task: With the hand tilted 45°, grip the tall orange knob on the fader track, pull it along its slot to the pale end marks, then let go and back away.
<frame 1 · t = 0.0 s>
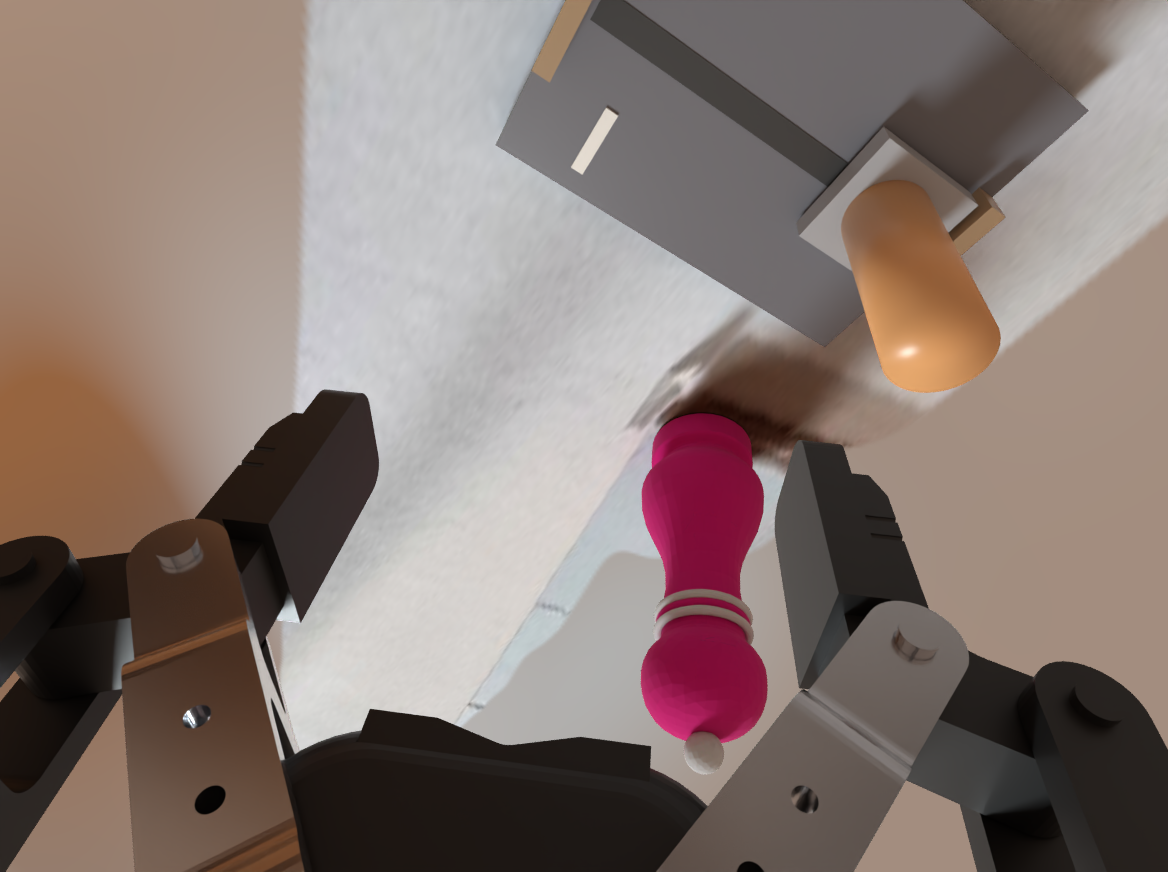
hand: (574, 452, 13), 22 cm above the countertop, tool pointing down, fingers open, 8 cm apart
pepper mill: (701, 445, 44), on the countertop
fader track: (770, 115, 29), on the countertop
fader: (905, 269, 26), point 7 cm above the countertop, slide at 0.0 cm
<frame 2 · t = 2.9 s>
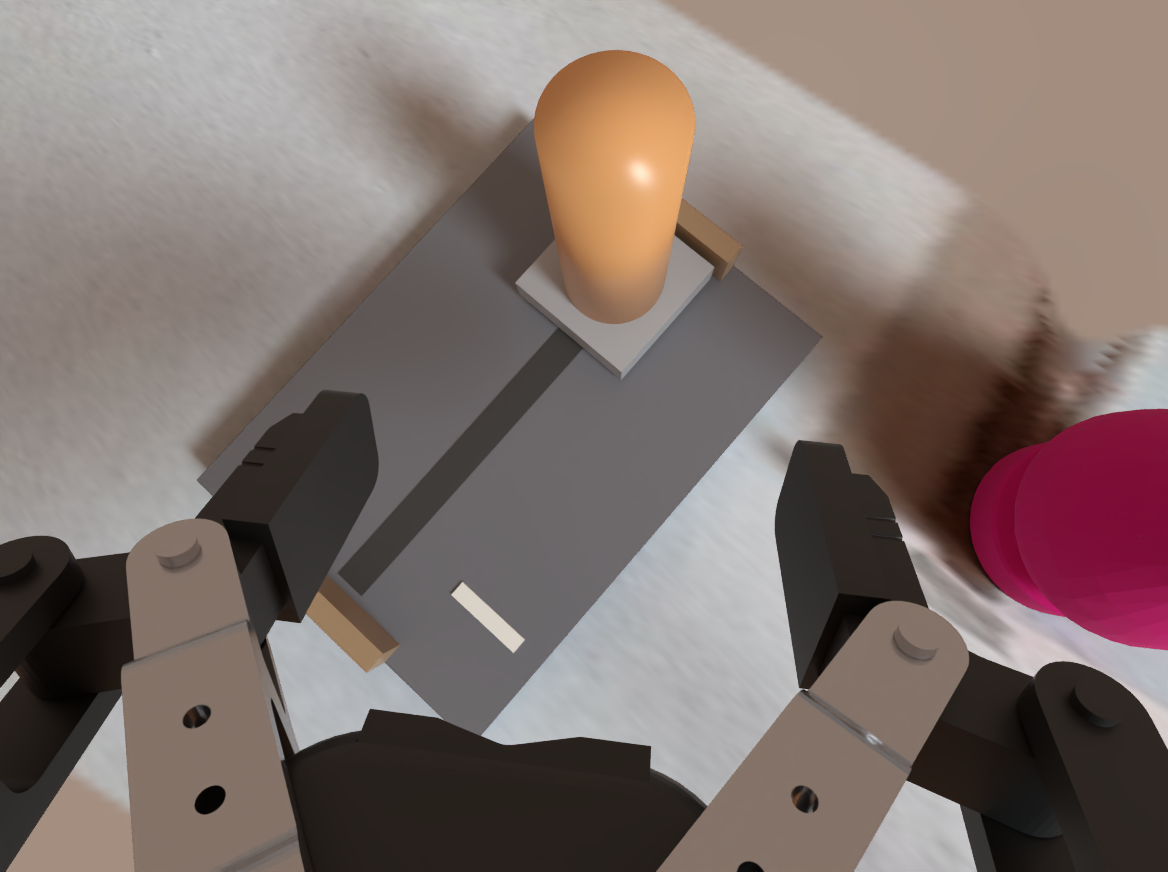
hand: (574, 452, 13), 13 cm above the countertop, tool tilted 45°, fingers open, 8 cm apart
pepper mill: (1050, 528, 25), on the countertop
fader track: (513, 415, 27), on the countertop
fader: (614, 225, 20), point 7 cm above the countertop, slide at 0.0 cm
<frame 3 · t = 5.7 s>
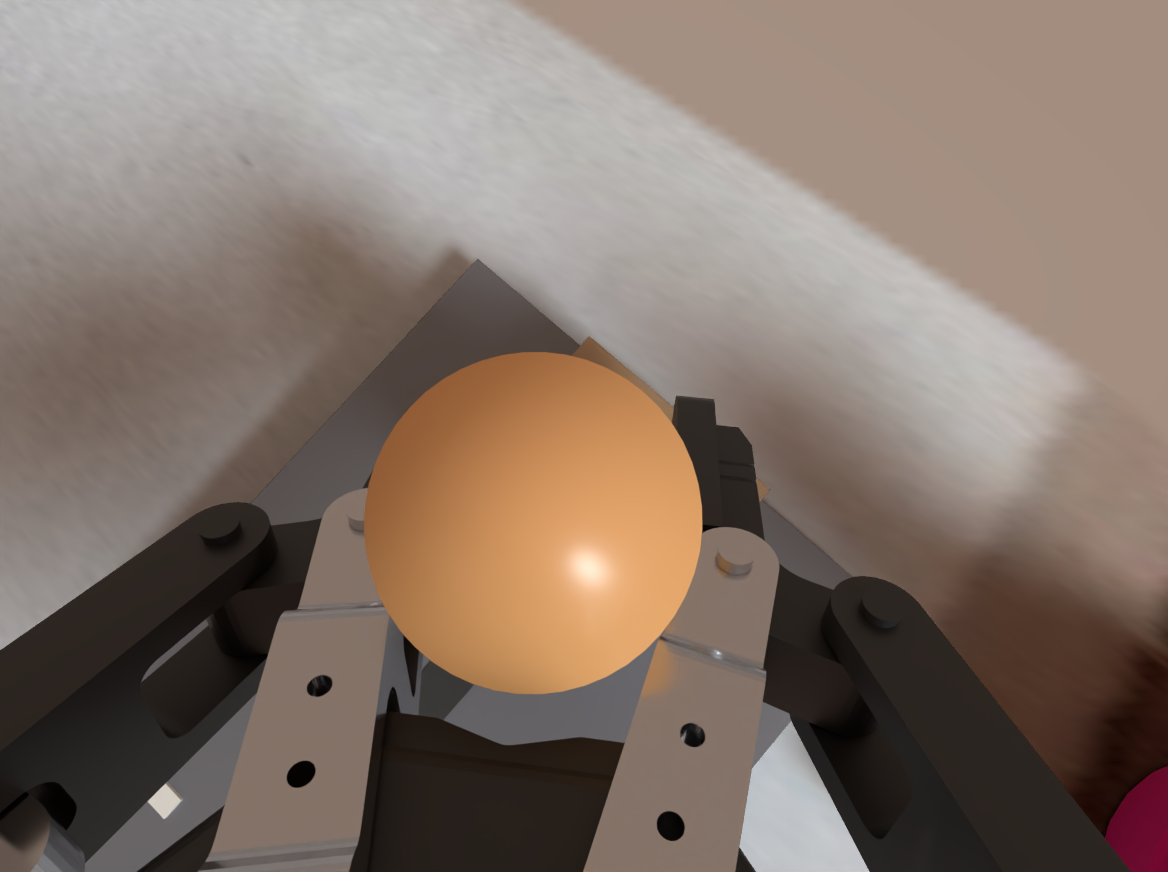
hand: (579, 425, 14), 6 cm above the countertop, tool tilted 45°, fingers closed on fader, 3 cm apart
fader track: (438, 692, 19), on the countertop
fader: (566, 523, 12), point 7 cm above the countertop, slide at 0.0 cm, touching gripper
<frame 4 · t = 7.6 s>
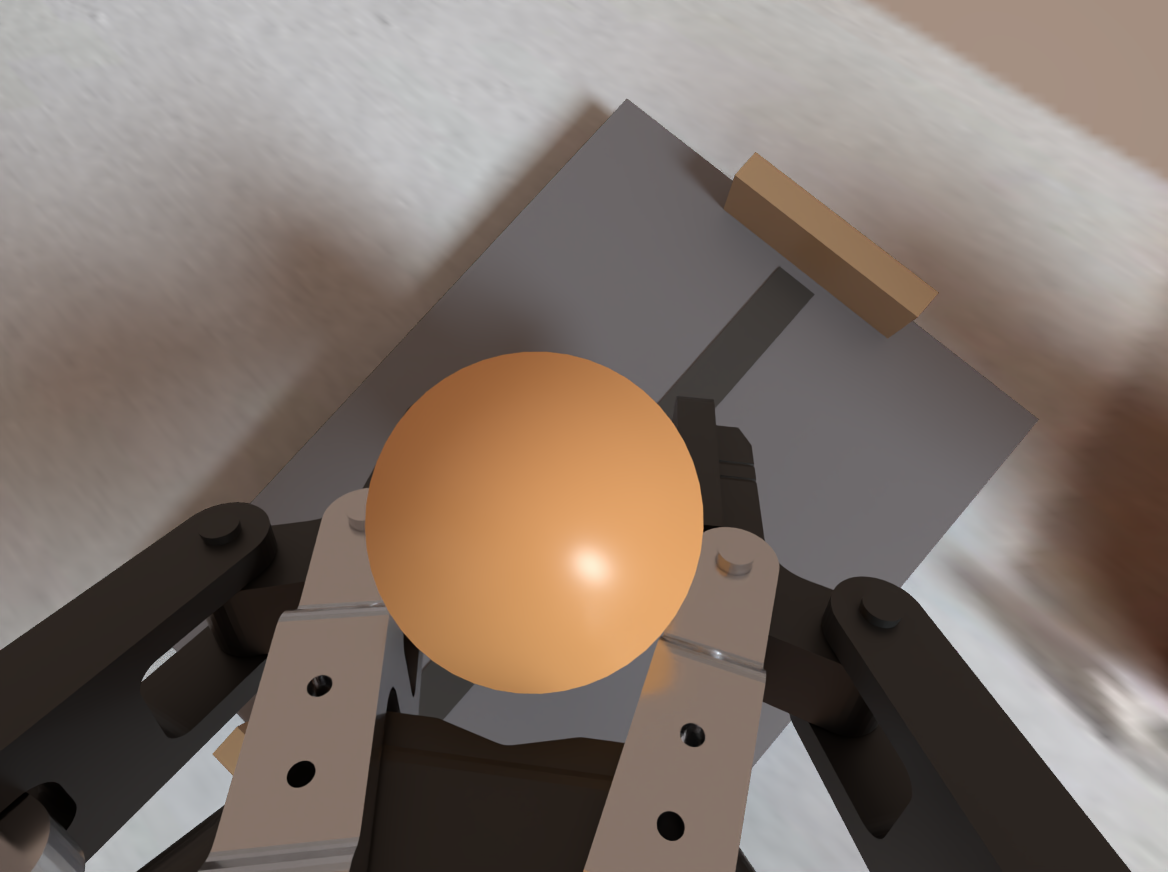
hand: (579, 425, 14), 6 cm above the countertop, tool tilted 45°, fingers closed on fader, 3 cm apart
fader track: (589, 520, 19), on the countertop
fader: (566, 523, 12), point 7 cm above the countertop, slide at 6.2 cm, touching gripper
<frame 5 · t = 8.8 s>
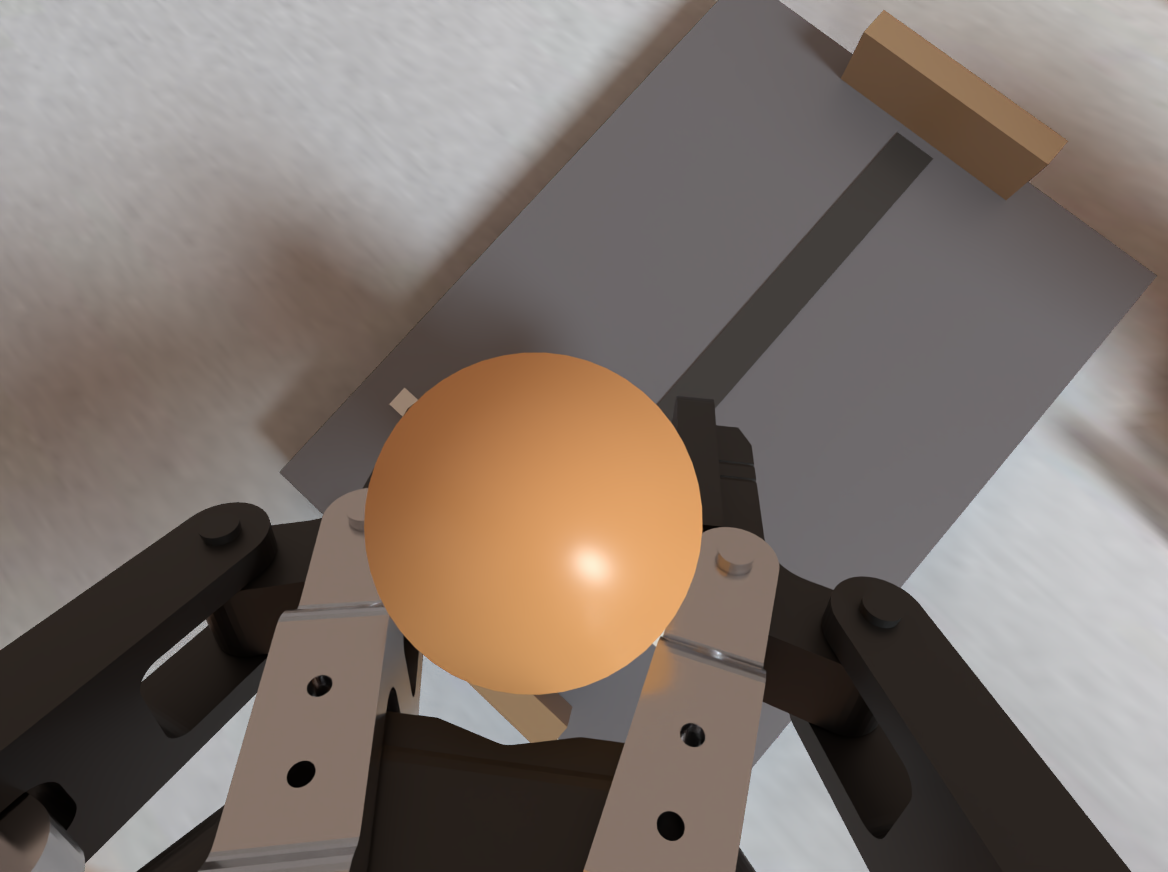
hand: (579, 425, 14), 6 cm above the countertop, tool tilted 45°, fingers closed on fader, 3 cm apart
fader track: (706, 386, 19), on the countertop
fader: (565, 523, 12), point 7 cm above the countertop, slide at 11.3 cm, touching gripper
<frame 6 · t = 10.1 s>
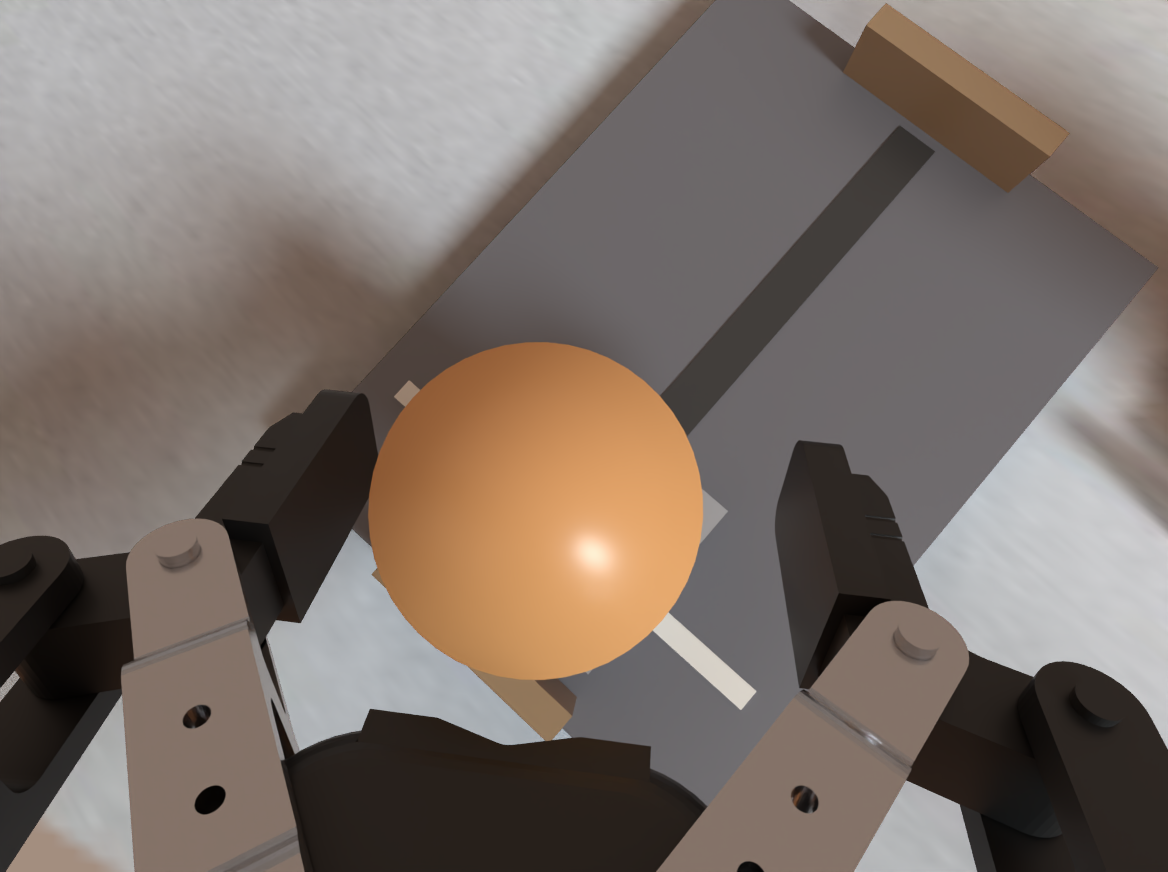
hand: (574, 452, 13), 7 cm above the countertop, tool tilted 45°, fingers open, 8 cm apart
fader track: (709, 379, 20), on the countertop
fader: (567, 516, 12), point 7 cm above the countertop, slide at 11.4 cm
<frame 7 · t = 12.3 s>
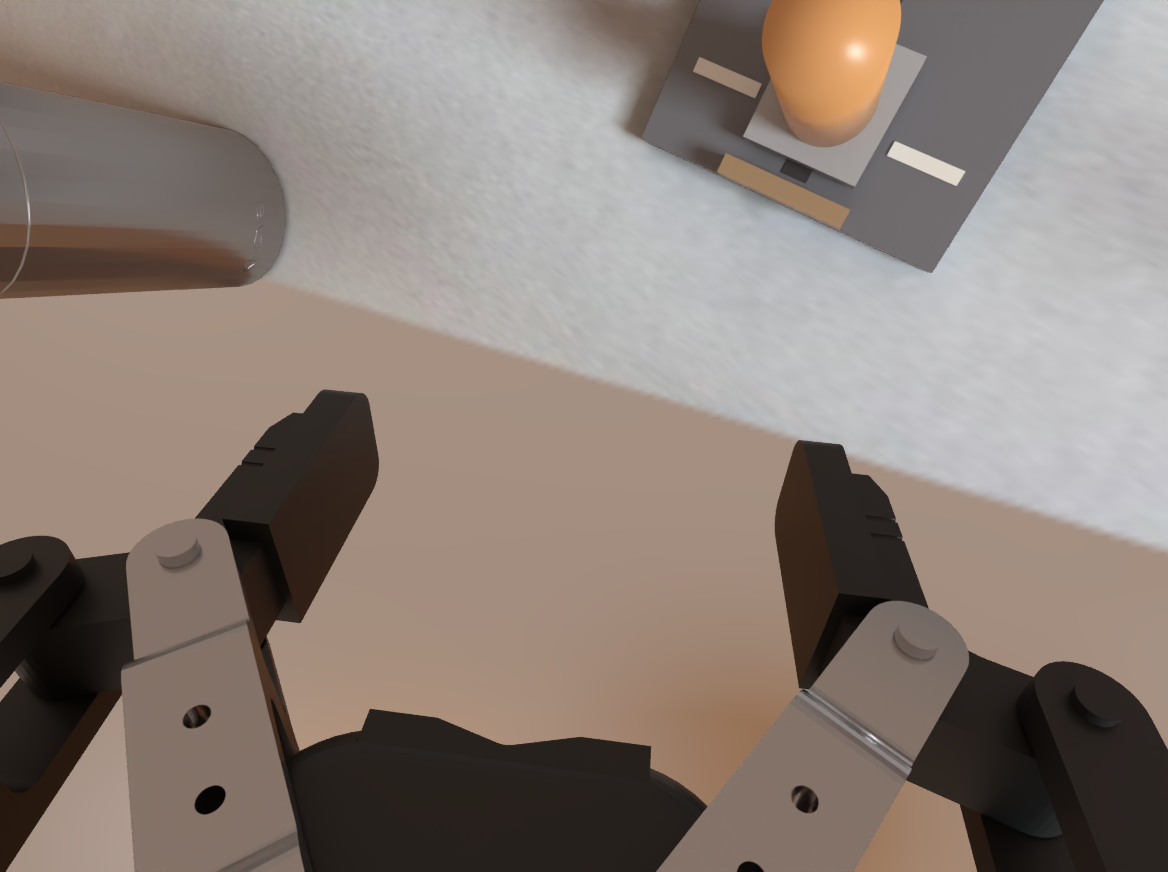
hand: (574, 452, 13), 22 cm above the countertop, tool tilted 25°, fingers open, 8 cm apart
fader: (829, 74, 23), point 7 cm above the countertop, slide at 11.4 cm
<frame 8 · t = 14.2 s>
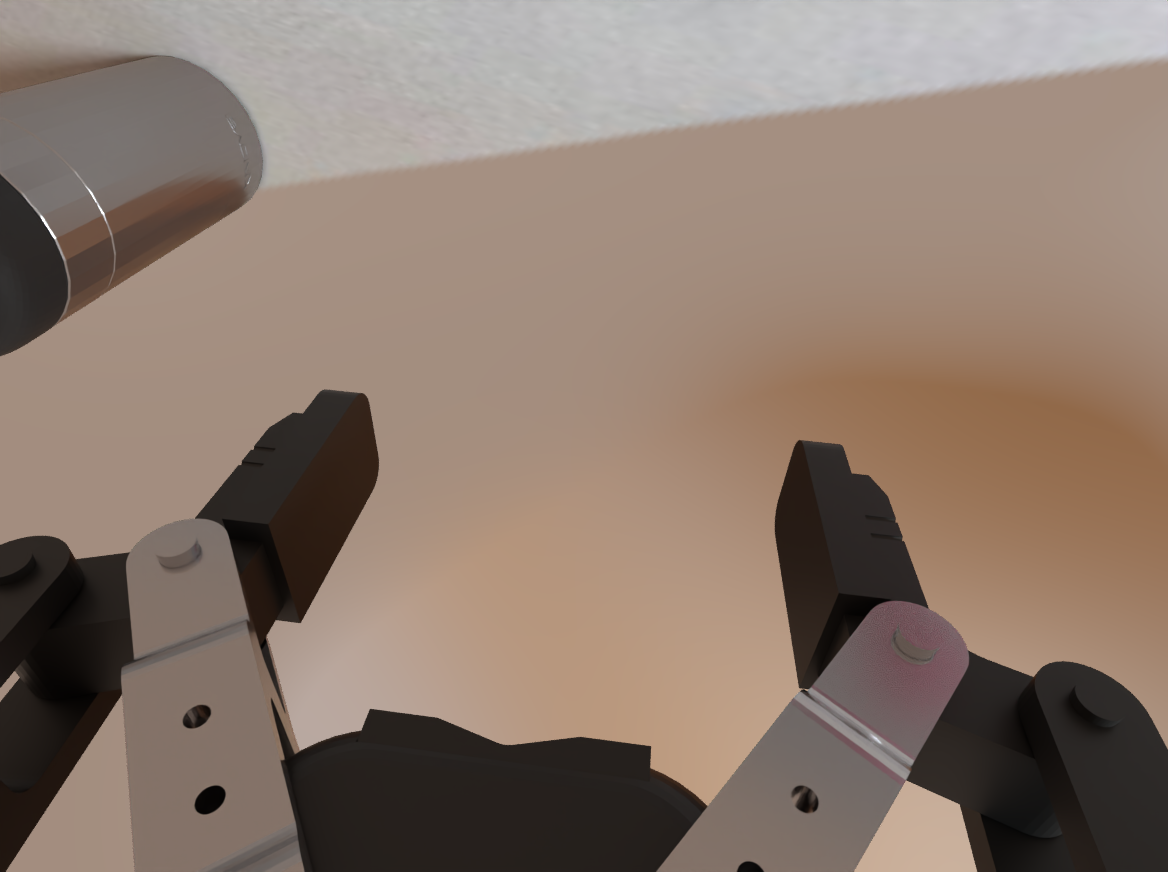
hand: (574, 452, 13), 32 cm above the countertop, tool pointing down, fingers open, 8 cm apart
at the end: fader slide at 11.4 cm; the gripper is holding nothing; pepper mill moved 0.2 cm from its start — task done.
